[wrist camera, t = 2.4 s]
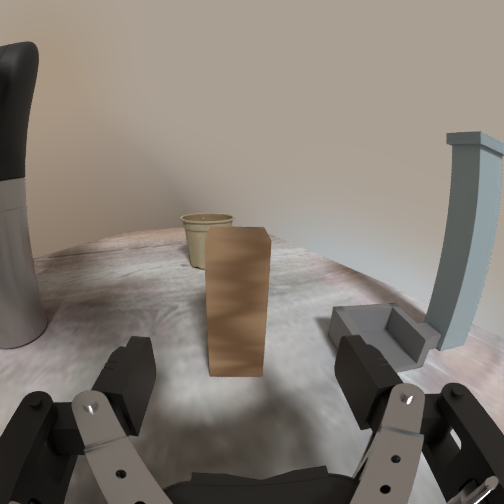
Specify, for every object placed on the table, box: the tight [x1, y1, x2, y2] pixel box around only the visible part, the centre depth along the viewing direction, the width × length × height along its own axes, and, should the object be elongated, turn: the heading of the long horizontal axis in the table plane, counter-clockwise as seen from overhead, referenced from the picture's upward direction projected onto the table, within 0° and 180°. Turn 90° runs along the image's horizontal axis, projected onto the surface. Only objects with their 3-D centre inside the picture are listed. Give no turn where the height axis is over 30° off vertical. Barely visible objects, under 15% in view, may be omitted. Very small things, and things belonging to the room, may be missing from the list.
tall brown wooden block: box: [205, 226, 271, 377], centre depth 23 cm, size 4×4×12 cm
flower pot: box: [180, 213, 235, 269], centre depth 49 cm, size 9×9×9 cm
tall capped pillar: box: [328, 132, 504, 373], centre depth 23 cm, size 17×8×23 cm, turn 94°
